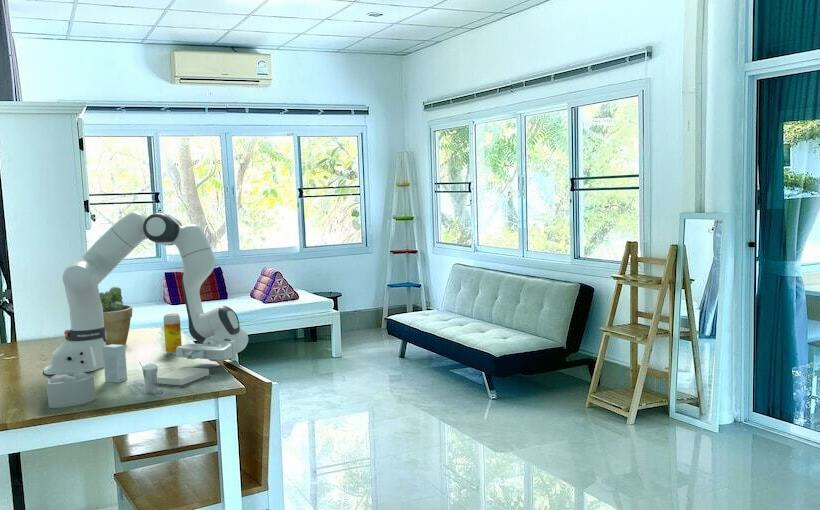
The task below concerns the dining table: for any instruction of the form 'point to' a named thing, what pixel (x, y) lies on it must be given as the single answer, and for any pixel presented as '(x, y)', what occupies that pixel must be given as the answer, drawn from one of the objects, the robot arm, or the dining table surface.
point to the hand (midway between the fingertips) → (189, 356)
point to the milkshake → (150, 377)
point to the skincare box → (114, 363)
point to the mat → (184, 384)
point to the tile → (182, 376)
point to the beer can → (172, 332)
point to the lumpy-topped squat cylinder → (70, 389)
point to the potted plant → (115, 316)
